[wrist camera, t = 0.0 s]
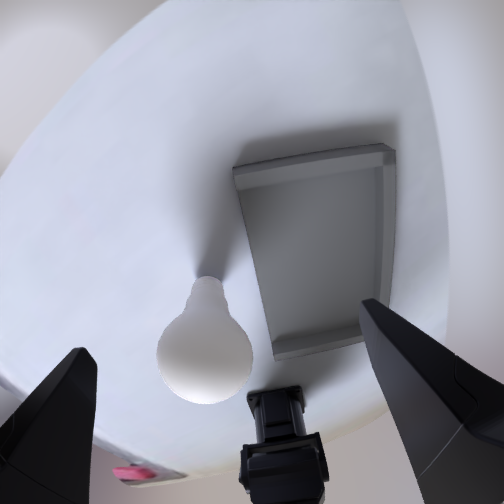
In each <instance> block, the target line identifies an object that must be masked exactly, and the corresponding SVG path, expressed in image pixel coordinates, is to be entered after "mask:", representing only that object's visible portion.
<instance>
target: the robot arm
mask: <svg viewBox="0 0 504 504" xmlns="http://www.w3.org/2000/svg"><path fill="white" fill-rule="evenodd" d="M359 324H360V328H361V331H362V334H363V338H364V341H365V344H366V348H367V351H368V354H369V358H370V361H371V364H372V368H373V370H374V373H375V375H376V378H377V380H378V382H379V385H380V387H381V389H382V392H383V394H384V397H385V399H386V401H387V404H388V406H389V409H390V411H391V414H392V416H393V419H394V421H395V423H396V426H397V429H398V431H399V434H400V436H401V439H402V442H403V444H404V446H405V449H406V452H407V455H408V457H409V460H410V463H411V465H412V468H413V471H414V474H415V477H416V479H417V482H418V485H419V488H420V491H421V494H422V497H423V500H424V503H425V504H504V384H502V383H500V382H498V381H496V380H495V379H493V378H491V377H489V376H487V375H486V374H484V373H483V372H481V371H479V370H478V369H476V368H475V367H473V366H472V365H470V364H469V363H467V362H466V361H464V360H463V359H462V358H460V357H459V356H457V355H456V356H455V354H454V353H453V352H451V351H450V350H449V349H447V348H446V347H444V346H443V345H442V344H440V343H439V342H437V341H436V340H434V339H433V338H432V337H430V336H429V335H427V334H426V333H424V332H423V331H422V330H420V329H419V328H417V327H416V326H414V325H413V324H411V323H410V322H408V321H407V320H406V319H404V318H403V317H401V316H400V315H398V314H397V313H395V312H394V311H392V310H391V309H389V308H388V307H386V306H385V305H384V304H382V303H381V302H379V301H378V300H376V299H374V298H369V299H365V300H362V301H361V302H360V312H359ZM97 370H98V369H97V364H96V362H95V360H94V359H93V358H92V356H91V355H90V353H89V352H88V351H87V349H86V348H84V347H79V348H74V349H72V350H71V352H70V353H69V354H68V355H67V356H66V357H65V358H64V359H63V360H62V361H61V362H60V363H59V364H58V365H57V366H56V367H55V368H54V369H53V370H52V371H51V372H50V373H49V375H48V376H47V377H46V378H45V379H44V380H43V381H42V382H41V383H40V384H39V385H38V386H37V387H36V389H35V390H34V391H33V392H32V393H31V394H30V395H29V396H28V397H27V398H26V399H25V401H24V402H23V403H22V404H21V405H20V406H19V407H18V408H17V410H16V411H15V412H14V413H13V414H12V415H11V416H10V417H9V418H8V420H7V421H6V422H5V423H4V424H3V425H2V426H1V427H0V504H89V486H90V466H91V452H92V440H93V429H94V420H95V411H96V392H97ZM247 402H248V405H249V407H250V410H251V412H252V414H253V417H254V419H255V425H256V435H257V444H250V445H248V444H244V445H243V450H241V451H240V452H241V467H240V473H239V482H240V483H241V484H242V485H243V486H244V488H245V490H246V493H247V494H250V498H251V502H252V503H253V504H323V503H324V500H325V487H324V482H327V481H329V472H328V467H327V462H326V457H325V453H324V450H323V446H322V442H321V438H320V434H319V432H315V433H314V434H309V435H307V434H306V429H305V424H304V419H303V413H304V412H305V411H304V403H303V395H302V389H301V387H300V386H296V387H291V388H286V389H280V390H275V391H269V392H263V393H257V394H251V395H248V396H247Z"/></svg>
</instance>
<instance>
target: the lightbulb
mask: <svg viewBox="0 0 504 504" xmlns="http://www.w3.org/2000/svg"><path fill="white" fill-rule="evenodd" d="M156 355H157V364H158V368H159V372H160V374H161V376H162V378H163V380H164V381H165V383H166V384H167V386H168V387H169V388H170V389H171V390H172V391H173V392H174V393H175V394H177V395H178V396H180V397H182V398H183V399H186V400H188V401H191V402H194V403H200V404H212V403H217V402H221V401H224V400H226V399H228V398H230V397H232V396H233V395H235V394H236V393H237V392H238V391H239V390H240V389H241V388H242V387H243V386H244V384H245V383H246V382H247V380H248V378H249V375H250V373H251V369H252V363H253V352H252V346H251V343H250V341H249V338H248V336H247V334H246V332H245V331H244V330H243V329H242V328H241V326H240V325H239V324H238V323H237V322H236V321H235V320H234V319H233V318H232V317H231V315H230V313H229V310H228V304H227V301H226V299H225V296H224V289H223V285H222V283H221V282H220V281H219V280H218V279H217V278H215V277H211V276H203V277H200V278H198V279H197V280H196V281H195V282H194V284H193V287H192V290H191V295H190V296H189V298H188V299H187V302H186V307H185V309H184V311H183V313H182V314H181V315H179V316H178V317H177V318H175V319H174V320H173V321H172V322H171V323H170V324H169V325H168V326H167V328H166V329H165V330H164V332H163V334H162V336H161V338H160V340H159V342H158V347H157V354H156Z"/></svg>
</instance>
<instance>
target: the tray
mask: <svg viewBox="0 0 504 504" xmlns="http://www.w3.org/2000/svg"><path fill="white" fill-rule="evenodd" d="M233 177H234V181H235V186H236V190H237V191H238V194H239V199H240V203H241V208H242V213H243V217H244V222H245V226H246V231H247V235H248V240H249V244H250V249H251V253H252V258H253V262H254V267H255V271H256V276H257V280H258V285H259V289H260V294H261V298H262V303H263V307H264V312H265V316H266V321H267V325H268V330H269V334H270V339H271V343H272V350H273V356H274V360H275V361H280V360H285V359H290V358H295V357H300V356H304V355H309V354H314V353H318V352H323V351H327V350H331V349H336V348H340V347H344V346H348V345H352V344H356V343H360V342H364V338H363V334H362V331H361V328H360V324H359V312H360V302H361V301H362V300H365V299H369V298H374V299H376V300H378V301H379V302H381V303H382V304H384V305H385V306H386V307H388V308H389V300H390V291H391V281H392V270H393V256H394V240H395V216H396V156H395V150H394V149H392V148H390V147H389V146H387V145H385V144H383V143H381V144H372V145H364V146H356V147H349V148H341V149H334V150H327V151H321V152H314V153H308V154H302V155H296V156H290V157H284V158H278V159H273V160H267V161H262V162H257V163H252V164H247V165H242V166H237V167H233Z"/></svg>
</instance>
